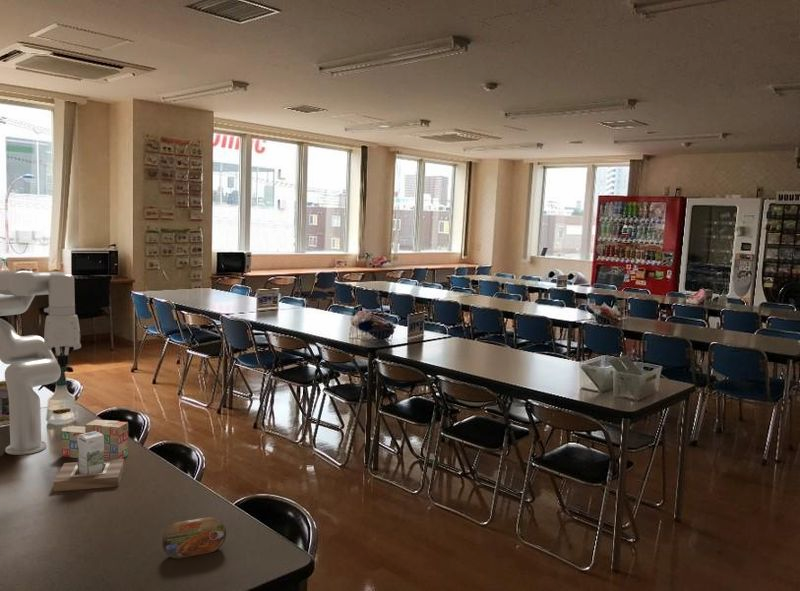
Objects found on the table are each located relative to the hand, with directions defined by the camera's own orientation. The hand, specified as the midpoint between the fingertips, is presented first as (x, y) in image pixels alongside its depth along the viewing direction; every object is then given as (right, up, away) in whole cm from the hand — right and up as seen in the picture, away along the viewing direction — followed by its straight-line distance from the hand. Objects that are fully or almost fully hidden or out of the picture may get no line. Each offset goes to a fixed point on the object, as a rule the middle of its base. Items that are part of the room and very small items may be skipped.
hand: (63, 366), depth 214 cm
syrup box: (+13, -35, -9) cm, 38 cm away
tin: (+60, -41, -53) cm, 90 cm away
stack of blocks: (+5, -33, +11) cm, 35 cm away
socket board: (+13, -35, -9) cm, 38 cm away
